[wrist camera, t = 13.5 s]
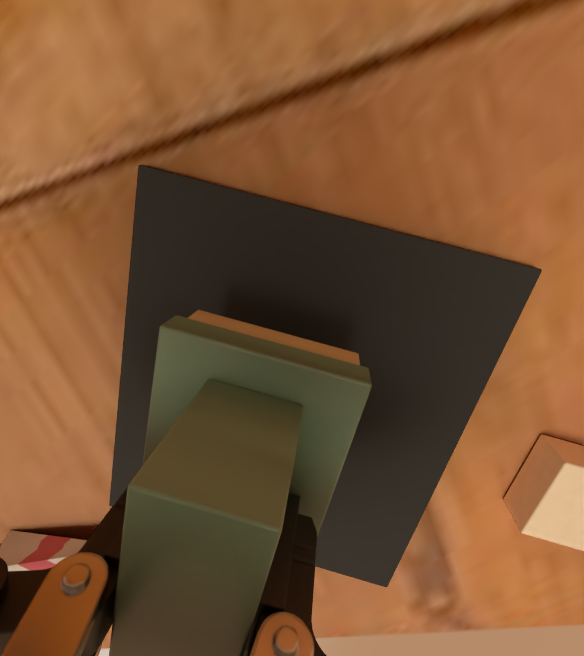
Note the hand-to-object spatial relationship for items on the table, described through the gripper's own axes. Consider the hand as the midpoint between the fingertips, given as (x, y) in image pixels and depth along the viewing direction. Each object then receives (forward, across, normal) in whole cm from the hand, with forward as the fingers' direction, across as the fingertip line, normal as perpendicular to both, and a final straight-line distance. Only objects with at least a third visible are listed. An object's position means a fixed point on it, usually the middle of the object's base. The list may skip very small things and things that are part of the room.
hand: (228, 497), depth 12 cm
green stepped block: (+3, 0, 0) cm, 3 cm away
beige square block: (+6, -14, 0) cm, 16 cm away
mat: (+6, -1, 0) cm, 6 cm away
